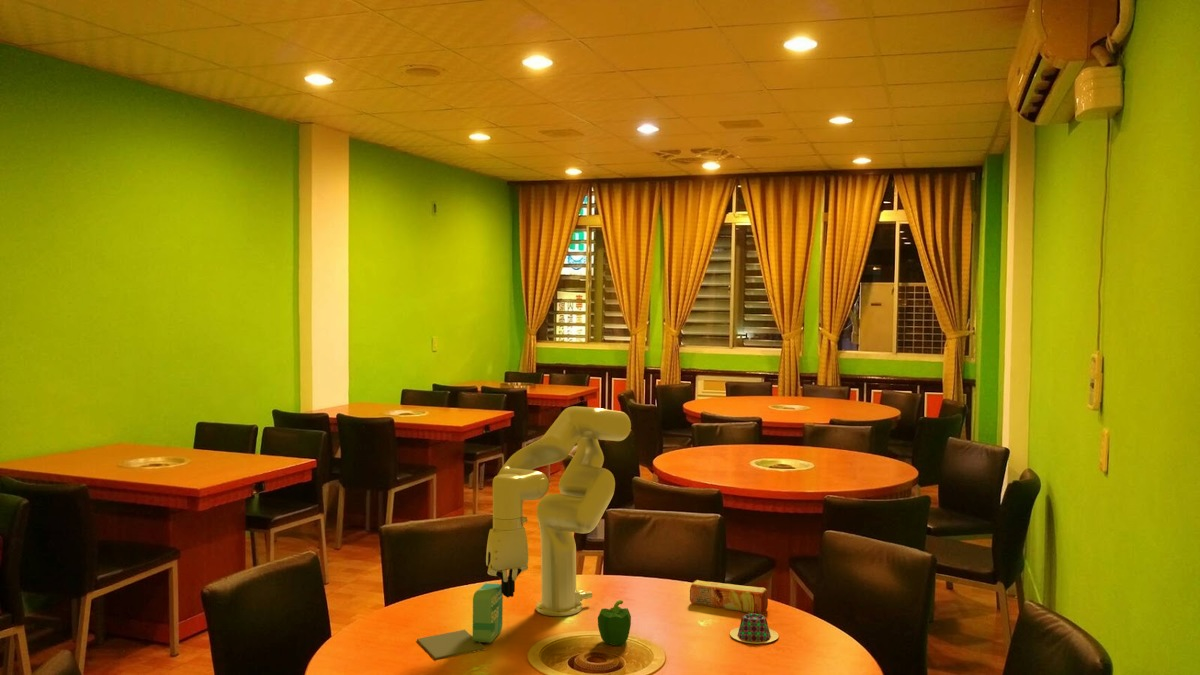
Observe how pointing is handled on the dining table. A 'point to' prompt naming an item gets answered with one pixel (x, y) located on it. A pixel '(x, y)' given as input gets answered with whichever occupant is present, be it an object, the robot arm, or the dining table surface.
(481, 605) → the teal square box
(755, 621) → the pudding
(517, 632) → the dining table surface
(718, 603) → the snack package
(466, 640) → the mat
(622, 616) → the bell pepper
